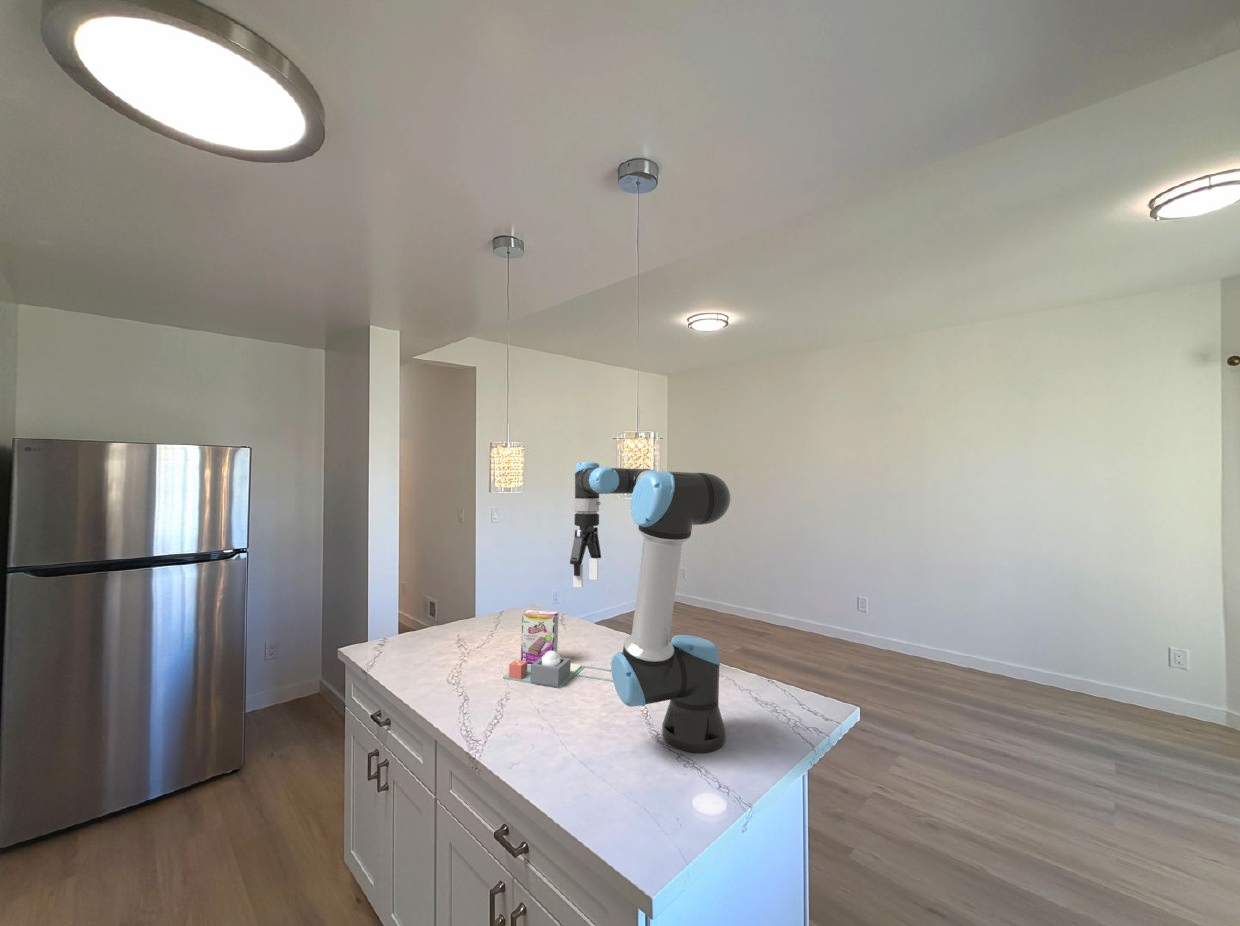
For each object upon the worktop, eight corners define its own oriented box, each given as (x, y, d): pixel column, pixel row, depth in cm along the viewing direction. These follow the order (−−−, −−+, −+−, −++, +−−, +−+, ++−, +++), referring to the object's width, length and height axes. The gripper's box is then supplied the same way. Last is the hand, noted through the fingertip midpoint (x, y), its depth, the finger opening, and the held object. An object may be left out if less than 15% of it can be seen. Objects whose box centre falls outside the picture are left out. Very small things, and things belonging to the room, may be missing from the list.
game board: (559, 688, 145) (559, 669, 145) (502, 679, 151) (502, 660, 151) (581, 667, 162) (582, 649, 162) (529, 659, 168) (530, 642, 168)
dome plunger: (555, 676, 148) (555, 655, 148) (538, 673, 149) (538, 652, 150) (563, 669, 153) (563, 649, 153) (546, 666, 155) (547, 646, 155)
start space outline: (615, 681, 151) (615, 681, 151) (573, 675, 155) (573, 674, 155) (623, 672, 159) (623, 671, 159) (583, 666, 163) (583, 665, 163)
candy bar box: (520, 663, 162) (521, 613, 162) (525, 658, 167) (526, 609, 167) (553, 666, 160) (554, 615, 160) (557, 661, 165) (559, 611, 165)
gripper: (583, 514, 139) (582, 591, 138) (610, 511, 163) (610, 577, 161) (559, 514, 141) (558, 589, 140) (589, 511, 165) (588, 575, 164)
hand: (586, 583), depth 151 cm, fingers open, 13 cm apart
